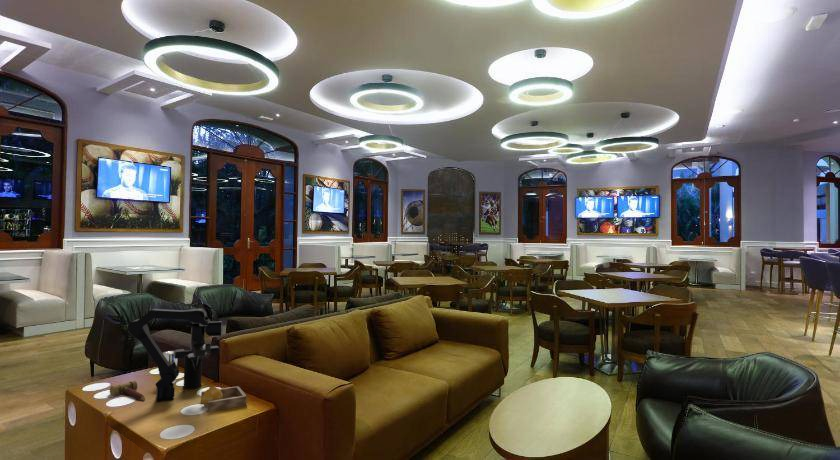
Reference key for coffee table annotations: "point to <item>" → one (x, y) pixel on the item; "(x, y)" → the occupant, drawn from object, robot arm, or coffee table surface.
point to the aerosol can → (191, 374)
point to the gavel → (127, 390)
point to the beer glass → (170, 358)
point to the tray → (227, 399)
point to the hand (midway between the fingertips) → (196, 370)
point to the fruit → (211, 395)
